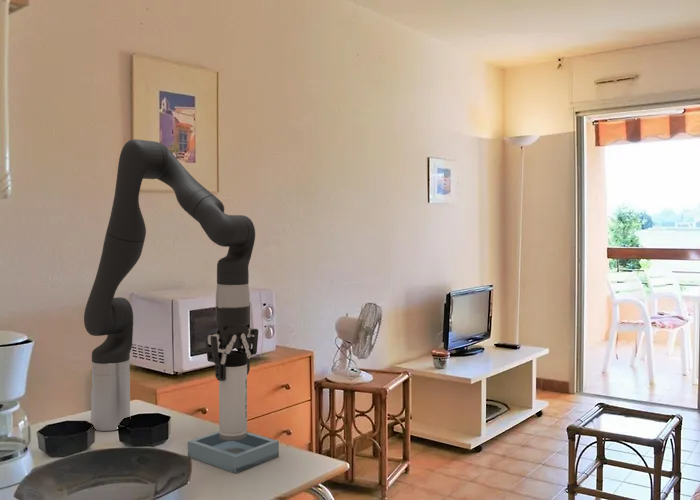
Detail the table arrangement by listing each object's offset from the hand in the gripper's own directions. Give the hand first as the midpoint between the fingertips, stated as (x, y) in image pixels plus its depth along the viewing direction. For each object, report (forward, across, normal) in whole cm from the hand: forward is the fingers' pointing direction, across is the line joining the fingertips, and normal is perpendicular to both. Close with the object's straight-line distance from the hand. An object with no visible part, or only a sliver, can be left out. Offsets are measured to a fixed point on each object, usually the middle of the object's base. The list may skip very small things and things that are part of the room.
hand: (232, 377), depth 147 cm
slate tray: (+18, 0, 0) cm, 18 cm away
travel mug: (+14, 0, 0) cm, 14 cm away
